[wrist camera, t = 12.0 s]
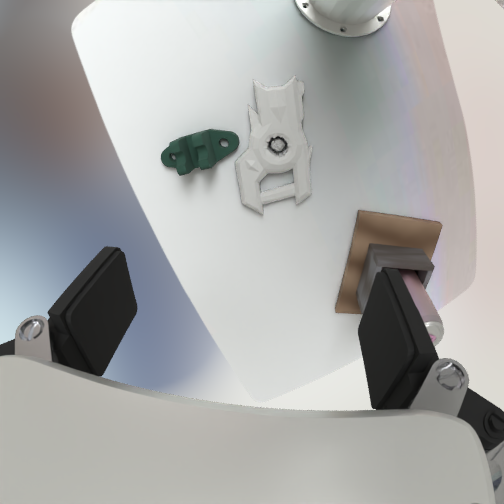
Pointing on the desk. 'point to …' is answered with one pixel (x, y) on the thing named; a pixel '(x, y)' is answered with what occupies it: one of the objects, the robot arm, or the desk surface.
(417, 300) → the beverage can
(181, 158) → the mount
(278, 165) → the grey mechanical plate
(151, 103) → the desk surface
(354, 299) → the can dock
